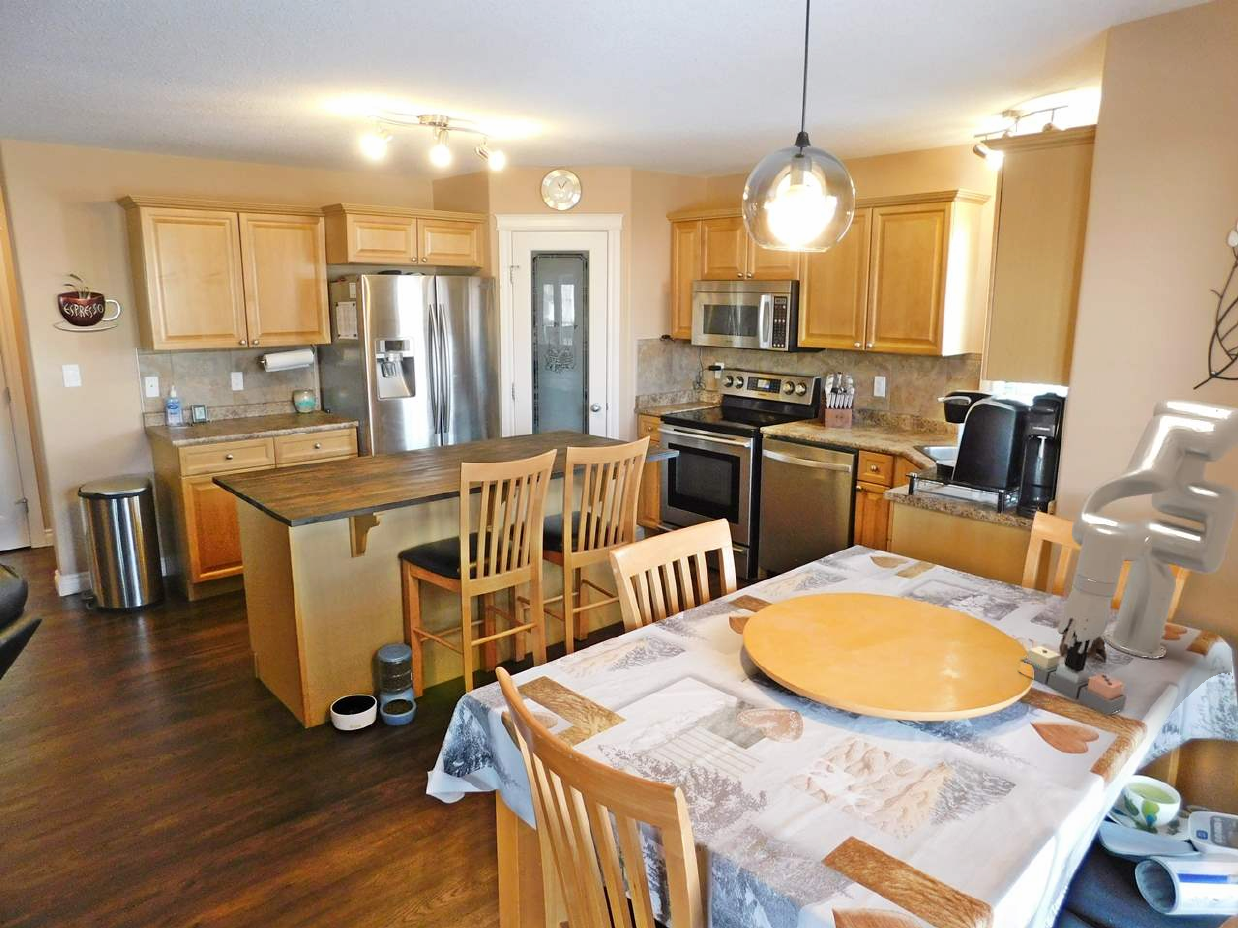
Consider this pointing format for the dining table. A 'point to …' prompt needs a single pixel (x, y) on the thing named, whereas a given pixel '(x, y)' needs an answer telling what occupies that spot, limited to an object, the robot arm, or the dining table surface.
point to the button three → (1105, 686)
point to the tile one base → (1040, 672)
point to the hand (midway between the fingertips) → (1073, 667)
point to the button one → (1043, 657)
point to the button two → (1073, 674)
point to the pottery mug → (1095, 648)
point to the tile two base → (1065, 686)
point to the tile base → (1101, 701)
